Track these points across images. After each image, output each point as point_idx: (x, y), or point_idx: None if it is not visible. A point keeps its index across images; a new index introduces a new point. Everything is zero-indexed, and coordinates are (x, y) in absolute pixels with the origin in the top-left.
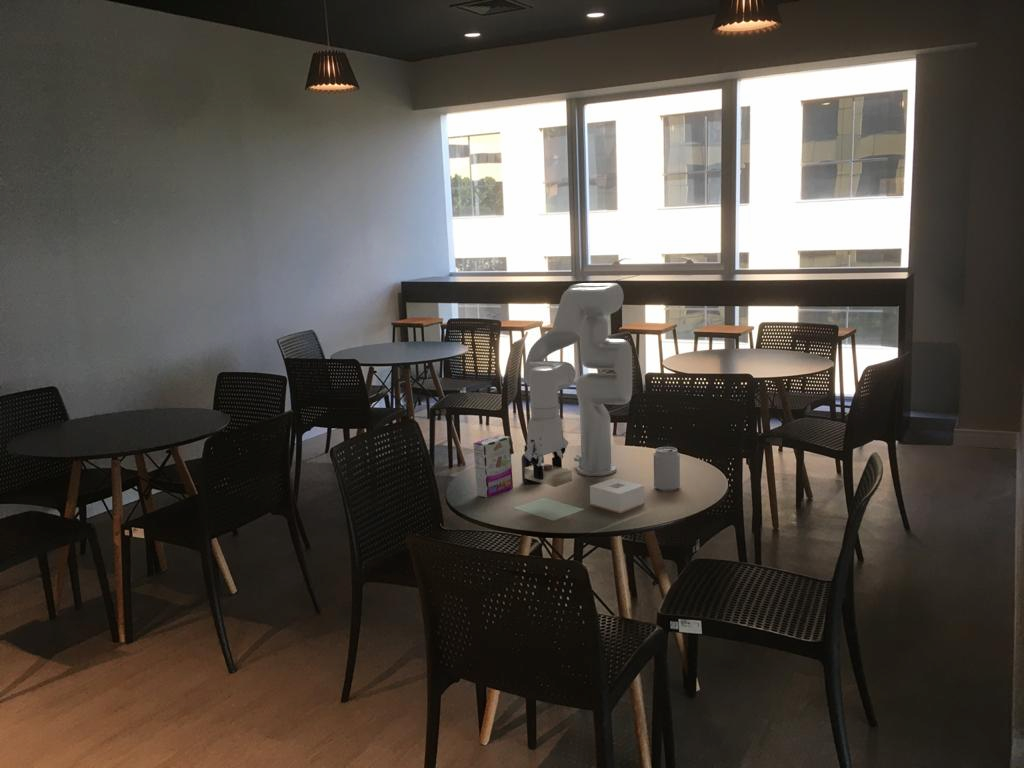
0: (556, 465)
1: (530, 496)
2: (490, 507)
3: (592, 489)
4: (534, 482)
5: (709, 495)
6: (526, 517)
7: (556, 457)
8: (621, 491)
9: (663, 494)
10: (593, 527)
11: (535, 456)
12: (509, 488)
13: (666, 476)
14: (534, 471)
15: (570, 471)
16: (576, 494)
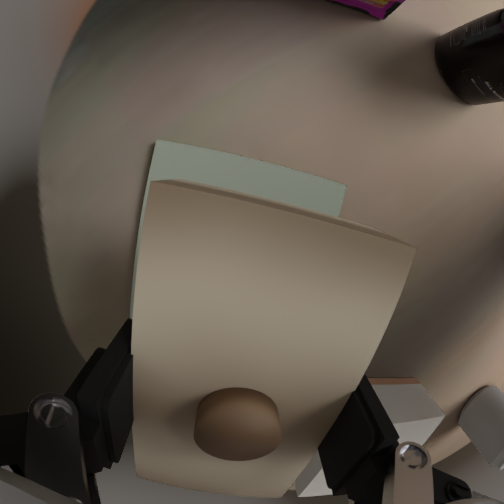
0: (332, 433)
1: (352, 110)
2: (148, 46)
3: None
4: (452, 80)
5: (437, 459)
6: (114, 248)
7: (356, 485)
8: (321, 490)
9: (444, 422)
10: None
11: (62, 488)
12: (367, 10)
13: (471, 438)
14: (85, 374)
15: (270, 494)
16: (430, 267)
